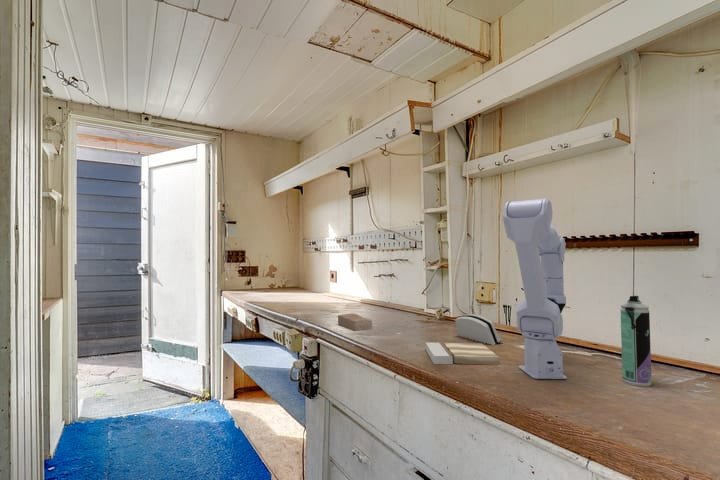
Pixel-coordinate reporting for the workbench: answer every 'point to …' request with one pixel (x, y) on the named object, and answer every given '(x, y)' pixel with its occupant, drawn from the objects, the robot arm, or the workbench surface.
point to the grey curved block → (477, 329)
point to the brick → (354, 322)
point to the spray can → (635, 343)
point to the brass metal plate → (471, 353)
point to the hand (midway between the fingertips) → (553, 326)
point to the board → (439, 353)
